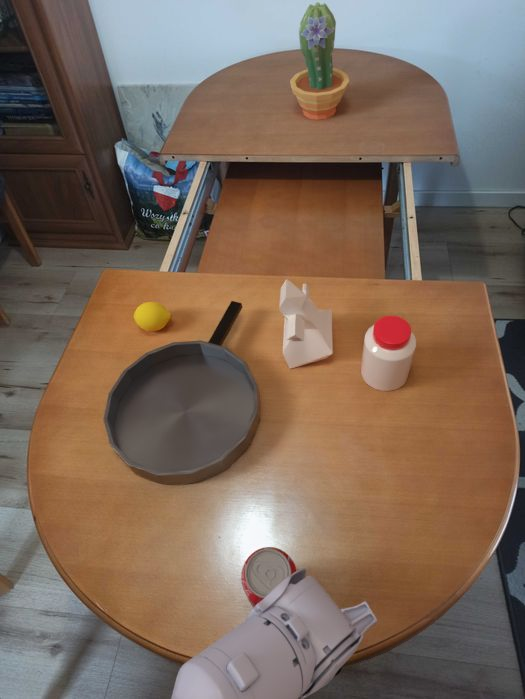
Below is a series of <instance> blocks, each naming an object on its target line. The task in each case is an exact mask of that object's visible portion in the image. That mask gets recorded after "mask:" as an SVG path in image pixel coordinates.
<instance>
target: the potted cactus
mask: <svg viewBox="0 0 525 699" xmlns="http://www.w3.org/2000/svg"><path fill="white" fill-rule="evenodd" d="M299 24H300V26H299V29H298V36H299V37H298V38H299V48H300V51H301V53H302V56H303V58H304V61H305V66H306V69H304V70H301V71H299V72H297V73H295V74H294V75H293V77H292V78H291V79H290V80H289V83H290V87H291V92H292V94H293V95H294V96H295V97H296V101H297V103H298V105H299V106H300V107H301V109H302V114H303V116H304V117H306V118H308V119H309V120H315V121H316V120H317V121H321V120H327V119H329V118H331V117H333V116H334V115H335V113H336V112H337V108H336V107H337V106H338V104H339V103H340V102H341V100H343V97H344V93H345V92H346V91H347V89H348V88H349V85H350V81H351V80H350V78H349V75H348V73H347V72H344V71H342V70H340V69H338V68H336V67H335V68H334V67H333V51H334V49H335V39H336V27H337V26H336V25H337V21H336V18H335V15H334V13H333V12H332V11H331V9H330V8H329V6H328V5H327V4H326V3H325V2H324V3H323V4H321V3H320V2H319V1H318V2H315V4H312V3H311V4H308V7H307V9H306V10H305V12H304V15H302V18H301V20H300V23H299Z"/></svg>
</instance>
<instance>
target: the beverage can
mask: <svg viewBox="0 0 525 699" xmlns="http://www.w3.org/2000/svg"><path fill="white" fill-rule="evenodd" d="M296 571H298V570H297V566H296V564H295V562H294V560H293V558H292V557H291V556H290V555H289V554H288V552H286V551H284V550H282V549H281V548H278V547H273V546H266V547H265V546H264V547H261V548H258V549H257V550H255V551H254V552H252V553H251V554H250V555H249V556H248V557H247V558H246V559H245V561H244V564H243V566H242V569H241V574H240V576H241V578H240V580H241V581H240V582H241V586H242V589H243V591H244V594H245V596H246V597H247V600H248V601H249V603H250V605H251V606H252V608H253V607H255V606H256V605H257V604H258V603H259V602H260V601H262V600H263V599H264V598H265V597H266V595H267V594H268V593H269V592H270V591H271V590H272V589H273V588H274V587H276V586H277V585H278V584H279V583H280V582H281V581H283V580H284V579H286V578H287V577H288V576H290V575H291V574H293V573H294V572H296Z"/></svg>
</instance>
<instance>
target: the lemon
mask: <svg viewBox="0 0 525 699" xmlns="http://www.w3.org/2000/svg"><path fill="white" fill-rule="evenodd" d="M171 318H172V314H171V313H170V311H169V310H168V309H167V308H166V307H165V306H164V305H163V304H161V303H160V302H156V301H146V302H143V303H141V304H140V305H138V306H137V308H136V310H134V313H133V319H134V321H135V323H136V325H137V326H138V327H139V328H140V329H142V330H143V331H146V332H156V331H160V330H162V329H163V328H165V326H166V325H167V324H168V322H169V321H170V319H171Z"/></svg>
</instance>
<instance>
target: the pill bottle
mask: <svg viewBox="0 0 525 699" xmlns="http://www.w3.org/2000/svg"><path fill="white" fill-rule="evenodd" d="M416 348H417V338H416V336H415V333H414V332H413V331H412V327H411V325H410V323H409V322H408V321H407V320H406V319H405V318H403V317H400V316H397V315H385V316H382V317H380V318H378V319H377V320H376V321H375V323H374V324H373V325H371V326H370V327H369V328H368V329H367V331H366V332H365V335H364V340H363V347H362V355H361V362H360V369H359V370H360V375H361V378H362V379H363V381H364V383H365V384H367V385H368V386H369V387H371V388H372V389H375V390H376V391H380V392H381V391H382V392H390V391H395V390H397V389H400V388H402V387H403V386H404V385H405V383H406V382H407V381H408V377H409V374H410V370H411V367H412V364H413V360H414V359H413V358H414V355H415V352H416Z"/></svg>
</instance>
